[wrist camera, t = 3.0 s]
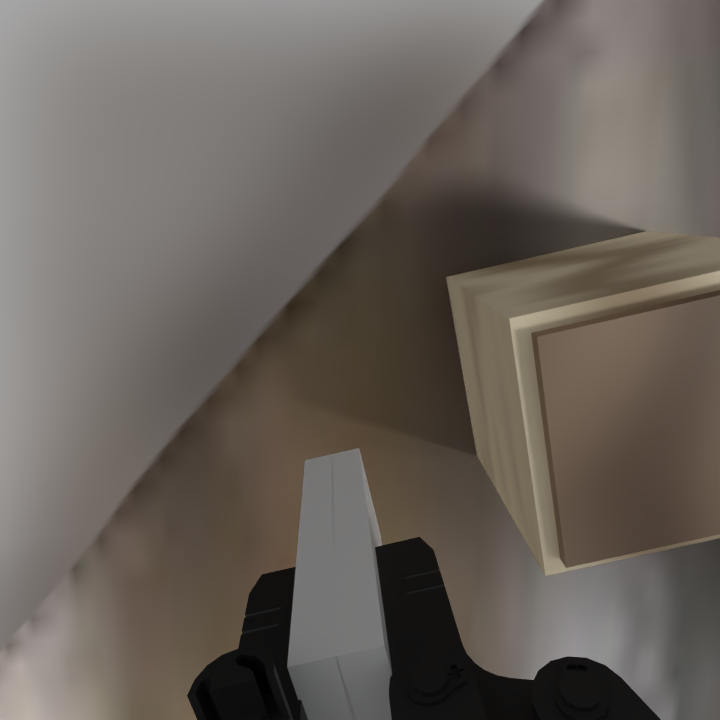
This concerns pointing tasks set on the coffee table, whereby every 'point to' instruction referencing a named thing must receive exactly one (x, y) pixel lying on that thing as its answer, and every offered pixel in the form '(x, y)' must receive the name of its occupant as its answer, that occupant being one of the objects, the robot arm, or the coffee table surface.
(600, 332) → the maple cube
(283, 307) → the coffee table surface
